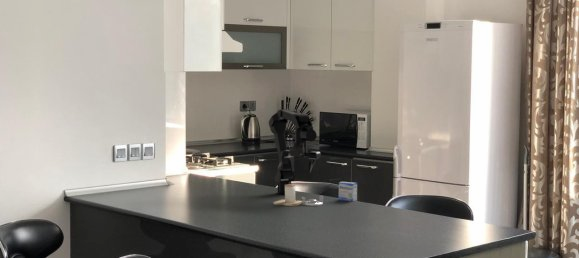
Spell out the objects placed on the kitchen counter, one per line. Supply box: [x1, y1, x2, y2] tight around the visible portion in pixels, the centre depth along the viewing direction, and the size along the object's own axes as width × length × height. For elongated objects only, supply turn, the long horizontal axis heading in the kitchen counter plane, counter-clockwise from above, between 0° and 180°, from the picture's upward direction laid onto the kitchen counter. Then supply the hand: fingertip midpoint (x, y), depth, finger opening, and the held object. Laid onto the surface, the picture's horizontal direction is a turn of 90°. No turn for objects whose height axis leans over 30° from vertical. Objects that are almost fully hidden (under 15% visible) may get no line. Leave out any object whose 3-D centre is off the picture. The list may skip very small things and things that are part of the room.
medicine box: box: [338, 181, 358, 202], centre depth 385 cm, size 8×4×9 cm, turn 62°
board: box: [273, 198, 302, 207], centre depth 375 cm, size 11×9×1 cm
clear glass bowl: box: [301, 195, 324, 207], centre depth 374 cm, size 10×10×4 cm
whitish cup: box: [284, 183, 296, 203], centre depth 373 cm, size 5×5×8 cm
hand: (301, 171), depth 388 cm, fingers open, 9 cm apart
